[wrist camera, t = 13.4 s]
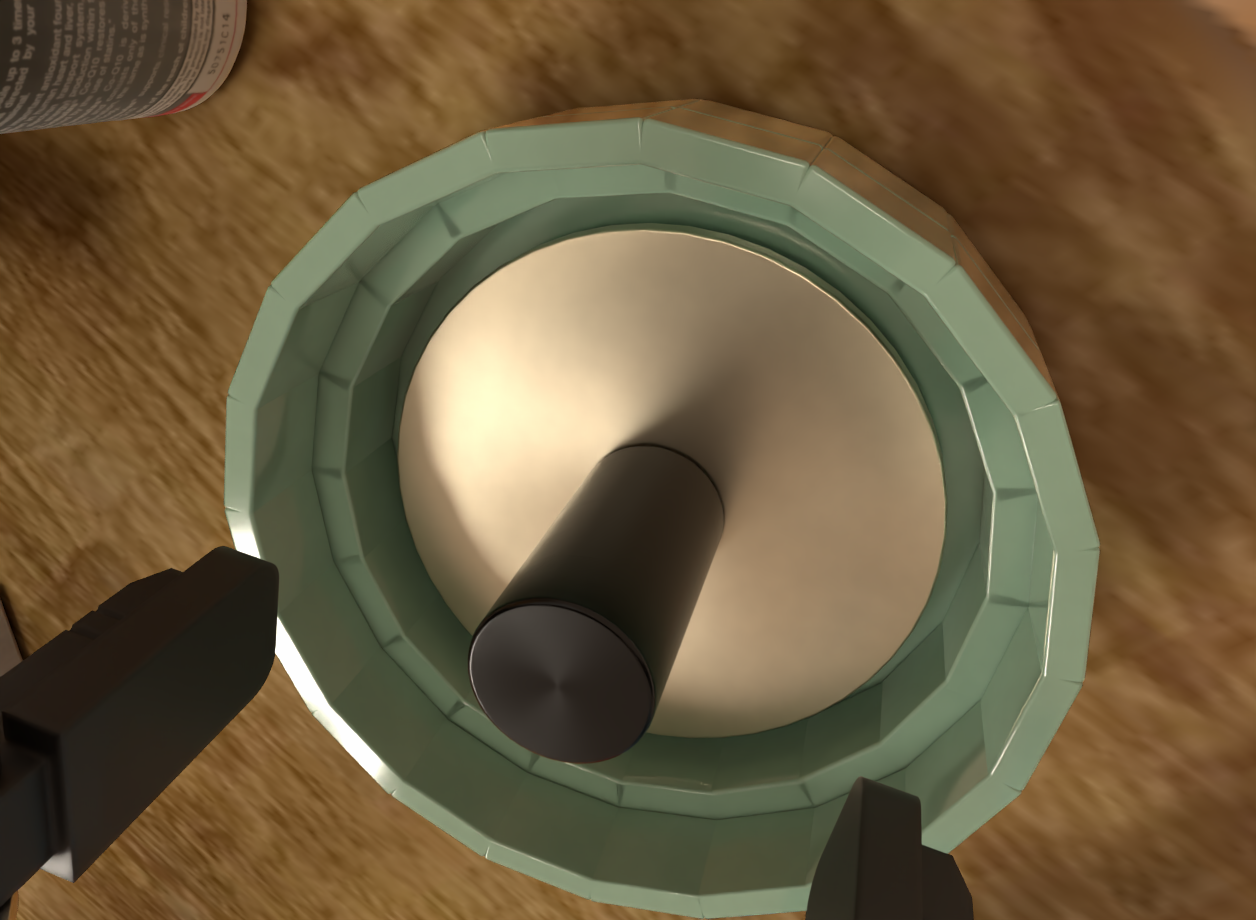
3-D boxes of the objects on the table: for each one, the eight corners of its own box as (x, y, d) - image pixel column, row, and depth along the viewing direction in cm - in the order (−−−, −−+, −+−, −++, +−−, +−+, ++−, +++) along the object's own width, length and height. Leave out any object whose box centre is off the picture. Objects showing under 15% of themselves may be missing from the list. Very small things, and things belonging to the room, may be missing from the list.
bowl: (389, 11, 17) (234, 6, 13) (1204, 227, 15) (1306, 297, 11) (331, 632, 24) (215, 753, 20) (896, 842, 22) (893, 1023, 18)
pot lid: (456, 147, 17) (229, 206, 12) (1041, 314, 16) (1115, 476, 10) (396, 610, 22) (214, 815, 17) (840, 773, 21) (812, 1060, 15)
